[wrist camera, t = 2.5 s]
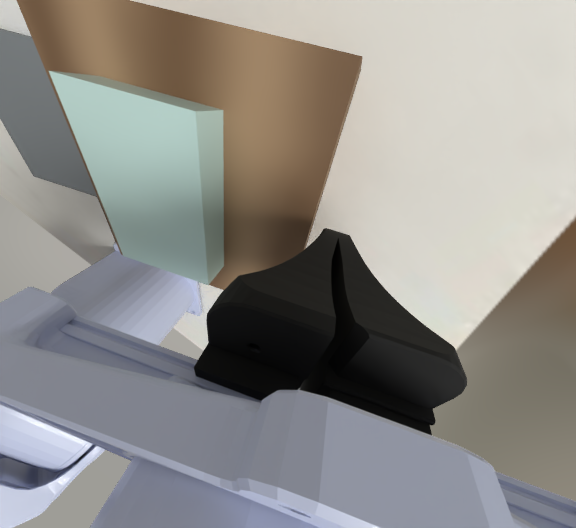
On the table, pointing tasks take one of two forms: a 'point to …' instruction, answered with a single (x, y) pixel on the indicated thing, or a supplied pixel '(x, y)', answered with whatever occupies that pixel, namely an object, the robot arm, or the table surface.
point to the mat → (37, 116)
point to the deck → (221, 107)
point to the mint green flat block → (152, 170)
